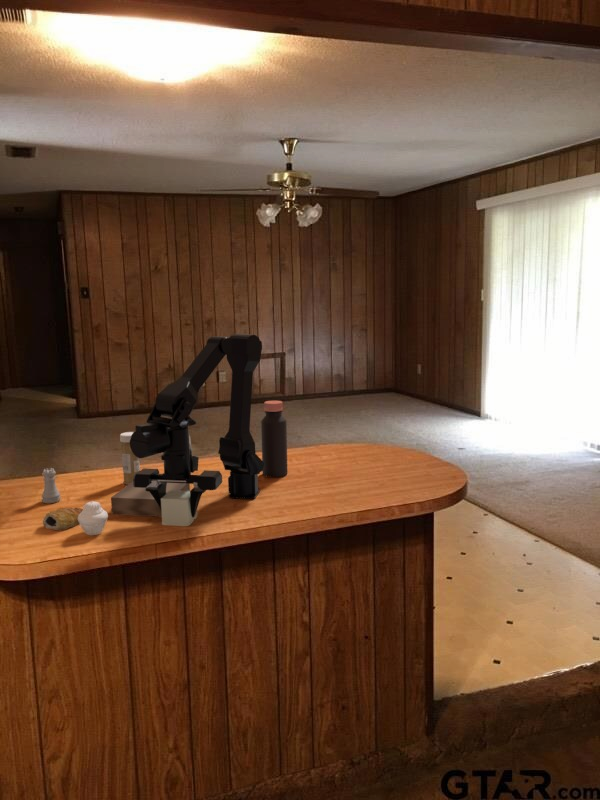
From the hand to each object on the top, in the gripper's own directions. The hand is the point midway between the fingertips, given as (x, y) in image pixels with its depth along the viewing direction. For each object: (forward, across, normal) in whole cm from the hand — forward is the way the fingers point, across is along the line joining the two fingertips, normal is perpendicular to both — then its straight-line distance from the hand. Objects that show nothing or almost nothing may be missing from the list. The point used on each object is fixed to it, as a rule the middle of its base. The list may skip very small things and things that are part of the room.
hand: (179, 516), depth 150 cm
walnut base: (+1, +10, -9) cm, 13 cm away
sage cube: (+1, 0, 0) cm, 1 cm away
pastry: (+2, +25, +5) cm, 26 cm away
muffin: (+1, +16, +9) cm, 18 cm away
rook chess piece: (+1, +36, -9) cm, 37 cm away
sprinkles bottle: (+1, +22, -25) cm, 33 cm away
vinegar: (+1, -14, -37) cm, 40 cm away
